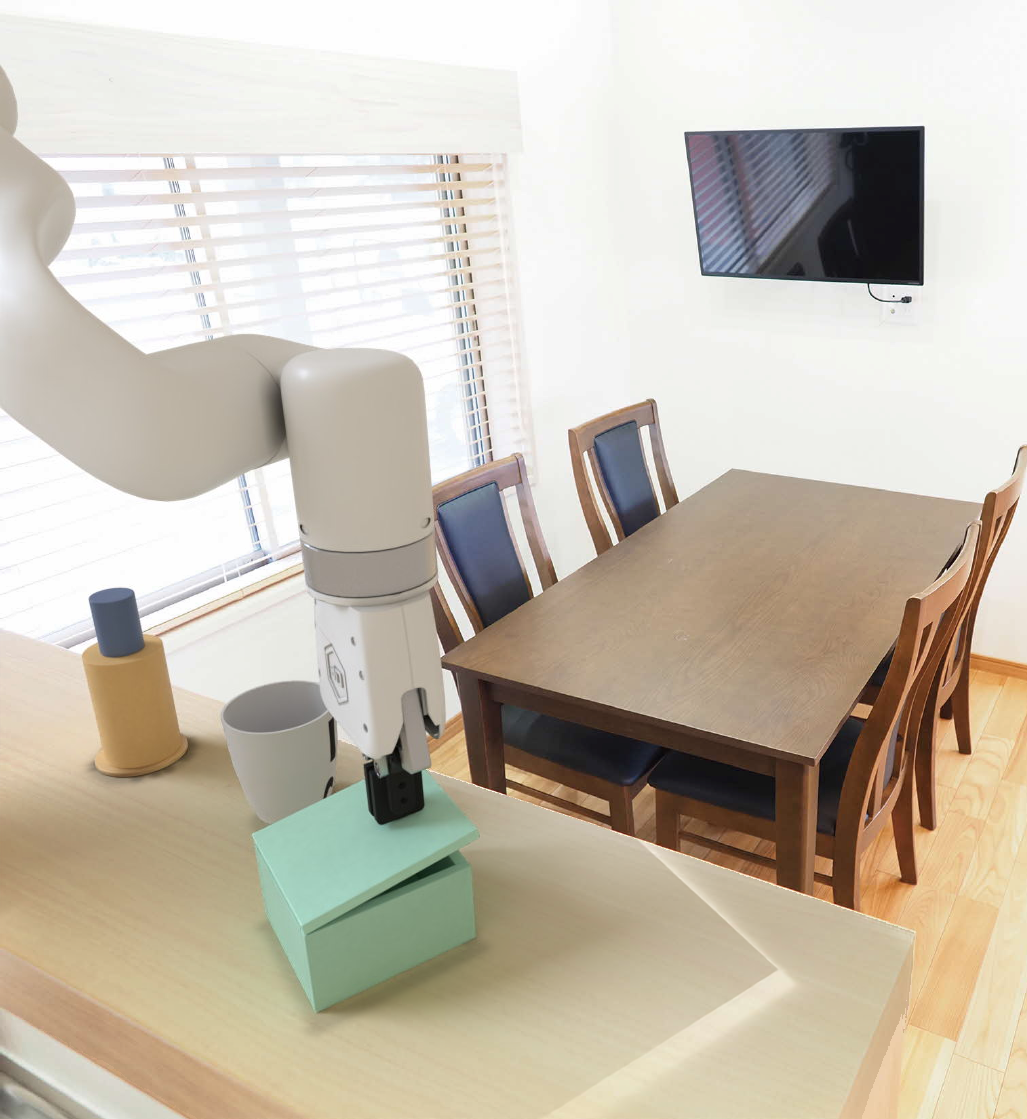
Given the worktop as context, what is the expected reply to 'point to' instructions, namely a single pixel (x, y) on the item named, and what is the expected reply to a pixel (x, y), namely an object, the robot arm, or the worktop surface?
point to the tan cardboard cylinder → (129, 684)
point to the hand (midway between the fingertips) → (397, 811)
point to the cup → (282, 746)
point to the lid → (356, 850)
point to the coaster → (129, 772)
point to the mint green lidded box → (375, 930)
